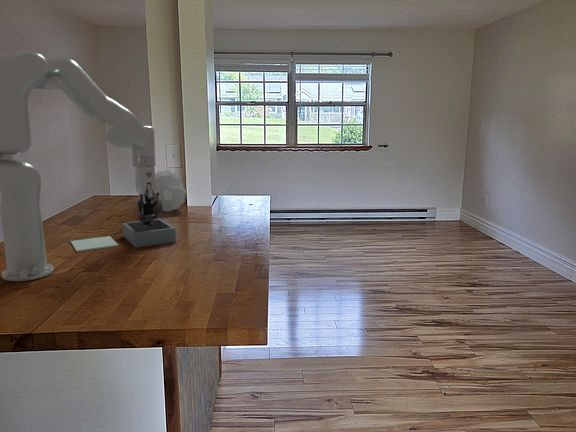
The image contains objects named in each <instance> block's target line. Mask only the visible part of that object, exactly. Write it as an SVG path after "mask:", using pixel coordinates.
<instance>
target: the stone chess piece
mask: <svg viewBox="0 0 576 432" xmlns="http://www.w3.org/2000/svg"><path fill="white" fill-rule="evenodd" d="M145 195H147V194H145ZM141 201H142V204H141V206H142V212H141V214H140V213H139V214H138V215H137V217H138V220H139V221H141V222H143V223H141V224H139V226H141V227H149V226H154V224H153V223H150V222H152V221H153V219H154V216H155V215H154V214H152V215H143V204H144V199H143V195H142V196H141Z"/></svg>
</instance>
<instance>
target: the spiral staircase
mask: <svg viewBox="0 0 576 432" xmlns="http://www.w3.org/2000/svg"><path fill="white" fill-rule="evenodd" d="M155 177H156V188H157V193H159V196H158V197H159V198H160V199H161V201H162V204H163V207H162V211H164V212H167V213H168V211H170V212H171V211H174V210H177V209H179V210H180V206H181V205H182V204H184V203H185V201H186V199H185V196H186V193H187V190H186V189H185V188H184V184H183V182H182V180H181V177H179V175H178V174H177V172H172V171H171V170H169V169H166V170H157V172H155Z"/></svg>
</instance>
